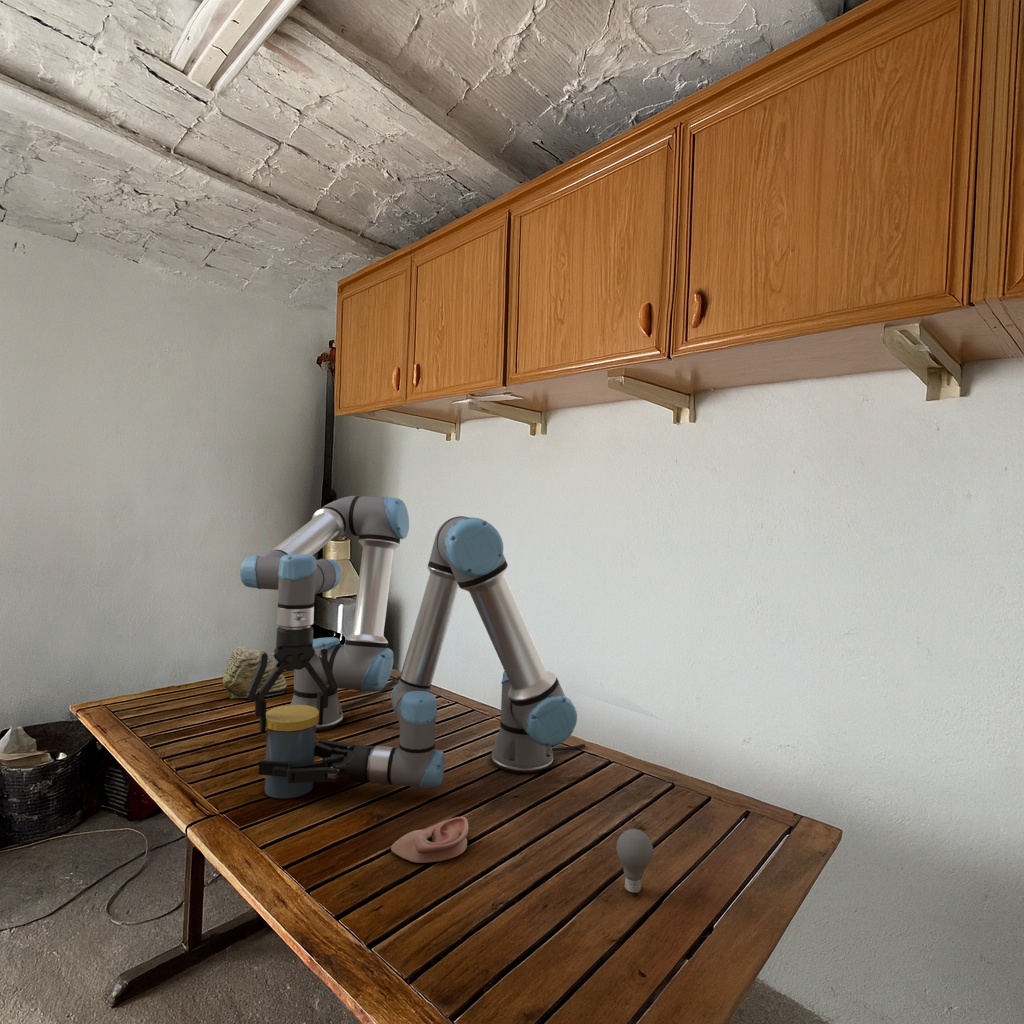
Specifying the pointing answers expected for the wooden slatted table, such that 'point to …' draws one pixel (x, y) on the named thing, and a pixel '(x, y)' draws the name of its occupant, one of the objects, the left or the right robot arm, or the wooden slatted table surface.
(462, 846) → the anatomical model
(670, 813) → the wooden slatted table surface
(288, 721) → the lid
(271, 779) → the jar
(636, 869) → the light bulb
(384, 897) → the wooden slatted table surface
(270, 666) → the fossil
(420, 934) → the wooden slatted table surface
